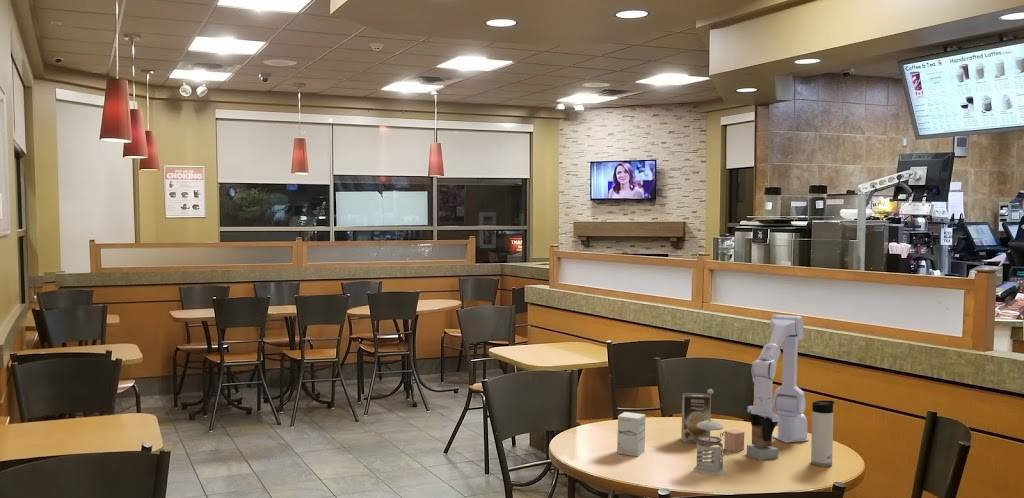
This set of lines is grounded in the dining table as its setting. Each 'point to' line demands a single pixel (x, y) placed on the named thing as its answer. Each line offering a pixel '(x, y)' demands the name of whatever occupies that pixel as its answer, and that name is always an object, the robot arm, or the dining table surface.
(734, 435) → the terracotta block
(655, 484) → the dining table surface
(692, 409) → the coffee box
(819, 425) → the travel mug
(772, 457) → the base block
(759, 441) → the walnut block
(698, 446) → the french press
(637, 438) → the supplement box
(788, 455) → the dining table surface
